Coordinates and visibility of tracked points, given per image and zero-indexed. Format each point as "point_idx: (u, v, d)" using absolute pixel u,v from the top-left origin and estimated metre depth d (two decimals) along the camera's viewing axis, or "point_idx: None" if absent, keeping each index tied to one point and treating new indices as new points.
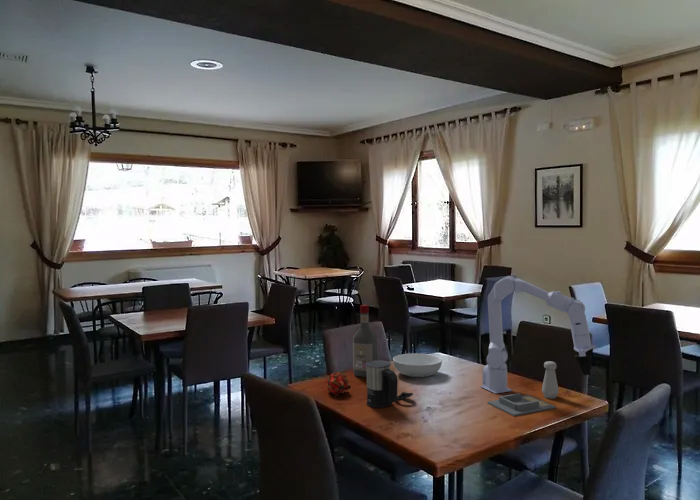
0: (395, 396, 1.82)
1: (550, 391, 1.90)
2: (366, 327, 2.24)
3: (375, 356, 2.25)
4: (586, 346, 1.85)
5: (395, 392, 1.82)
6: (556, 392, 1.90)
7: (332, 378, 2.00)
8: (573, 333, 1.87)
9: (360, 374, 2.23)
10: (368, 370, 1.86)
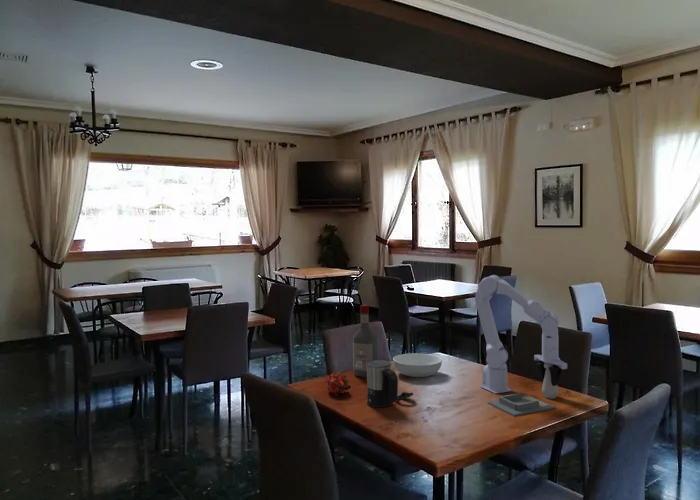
0: (395, 396, 1.82)
1: (550, 391, 1.90)
2: (366, 327, 2.24)
3: (375, 356, 2.25)
4: (558, 358, 1.91)
5: (395, 392, 1.82)
6: (556, 392, 1.90)
7: (332, 378, 2.00)
8: (543, 345, 1.92)
9: (360, 374, 2.23)
10: (368, 370, 1.87)
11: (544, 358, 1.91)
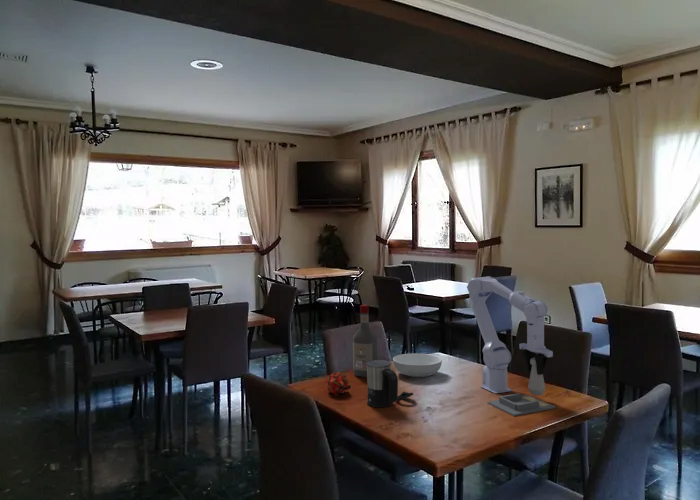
0: (395, 396, 1.82)
1: (536, 387, 1.86)
2: (366, 327, 2.24)
3: (375, 356, 2.25)
4: (543, 347, 1.86)
5: (395, 392, 1.82)
6: (542, 389, 1.86)
7: (332, 378, 2.00)
8: (527, 332, 1.88)
9: (360, 374, 2.23)
10: (368, 370, 1.87)
11: (529, 346, 1.87)
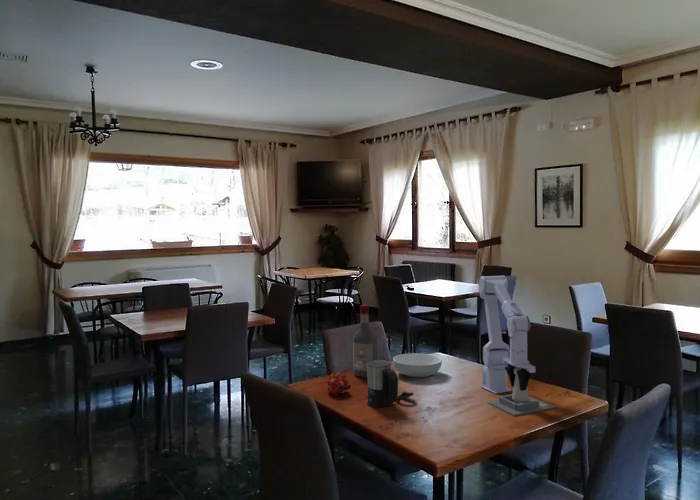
0: (395, 396, 1.82)
1: (519, 398, 1.81)
2: (366, 327, 2.24)
3: (375, 356, 2.25)
4: (526, 362, 1.81)
5: (395, 392, 1.82)
6: (526, 399, 1.81)
7: (332, 378, 2.00)
8: None
9: (360, 374, 2.23)
10: (369, 370, 1.87)
11: (512, 361, 1.82)
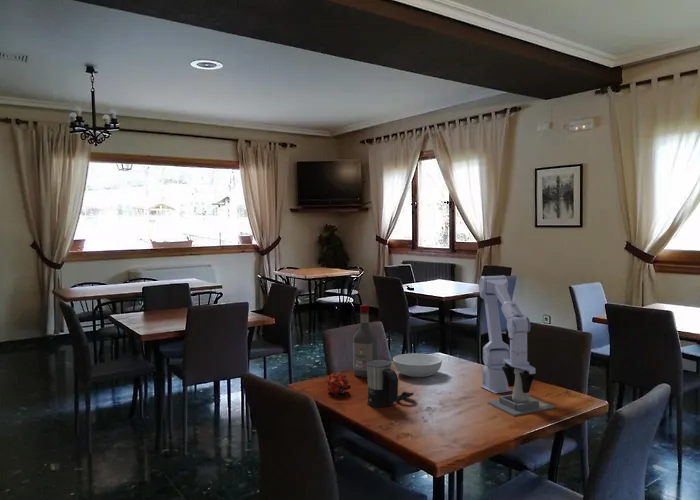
0: (396, 396, 1.82)
1: (519, 398, 1.81)
2: (366, 327, 2.24)
3: (375, 356, 2.25)
4: (526, 363, 1.81)
5: (396, 392, 1.82)
6: (526, 400, 1.81)
7: (332, 378, 2.00)
8: None
9: (360, 374, 2.23)
10: (369, 370, 1.87)
11: (512, 362, 1.82)
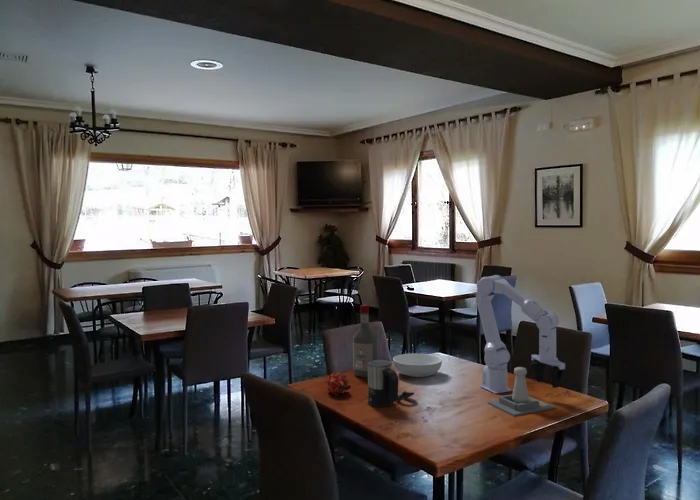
0: (396, 395, 1.82)
1: (519, 398, 1.81)
2: (366, 327, 2.24)
3: (375, 356, 2.25)
4: (555, 359, 1.86)
5: (396, 391, 1.82)
6: (526, 400, 1.81)
7: (332, 378, 2.00)
8: (539, 344, 1.88)
9: (360, 374, 2.23)
10: (369, 369, 1.87)
11: (541, 358, 1.87)
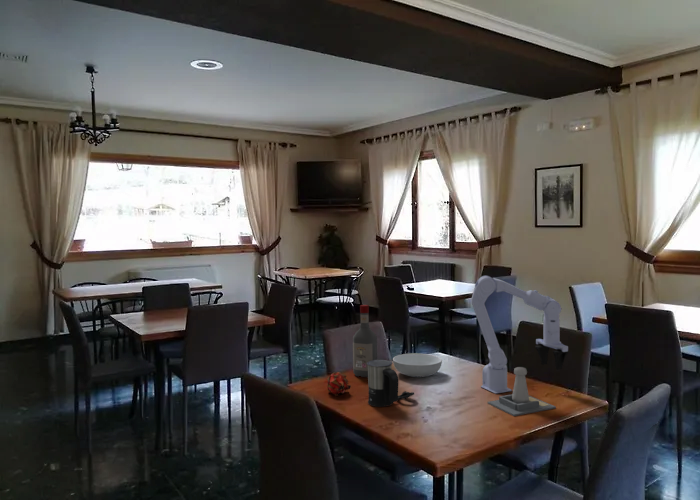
0: (396, 395, 1.82)
1: (519, 398, 1.81)
2: (366, 327, 2.24)
3: (375, 356, 2.25)
4: (559, 342, 1.96)
5: (396, 391, 1.82)
6: (526, 400, 1.81)
7: (332, 378, 2.00)
8: (546, 329, 1.96)
9: (360, 374, 2.23)
10: (369, 369, 1.87)
11: (545, 341, 1.97)
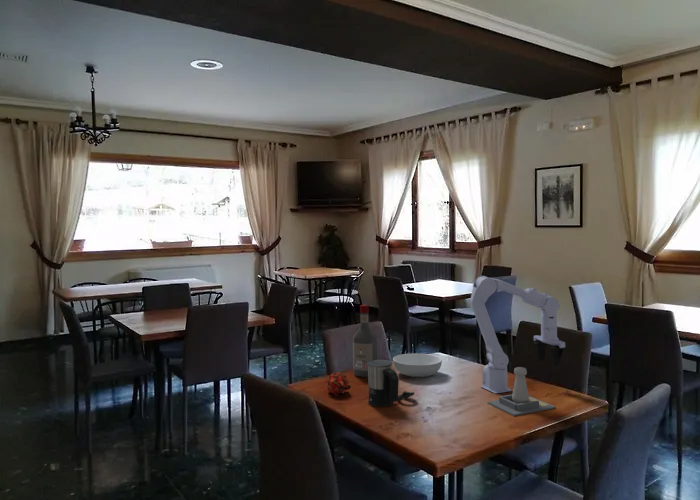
0: (396, 395, 1.83)
1: (519, 398, 1.81)
2: (366, 327, 2.24)
3: (375, 356, 2.25)
4: (556, 338, 1.99)
5: (396, 391, 1.82)
6: (526, 400, 1.81)
7: (332, 378, 2.00)
8: (545, 326, 1.99)
9: (360, 374, 2.23)
10: (369, 369, 1.87)
11: (543, 338, 2.00)
